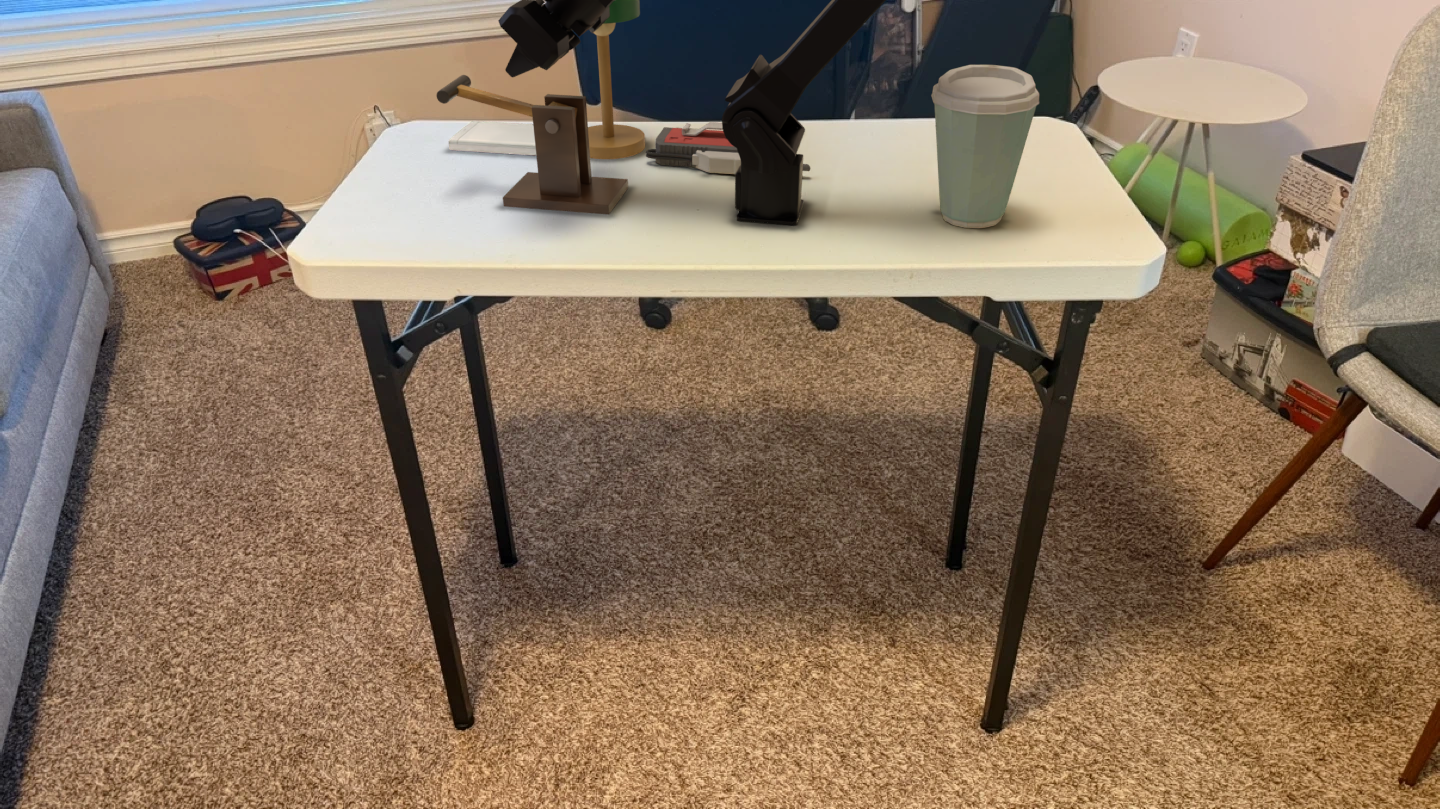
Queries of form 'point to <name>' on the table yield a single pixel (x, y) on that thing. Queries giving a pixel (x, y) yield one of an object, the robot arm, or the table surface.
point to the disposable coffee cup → (980, 139)
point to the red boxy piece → (697, 149)
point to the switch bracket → (564, 164)
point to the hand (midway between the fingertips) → (509, 73)
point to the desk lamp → (610, 136)
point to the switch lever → (485, 97)
